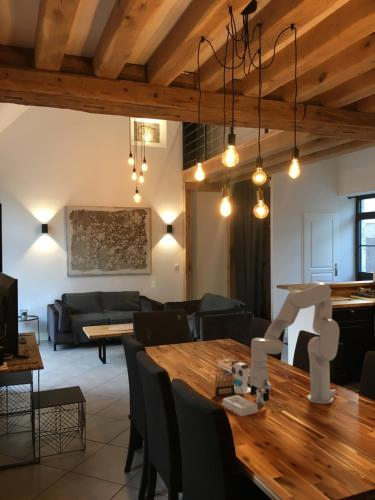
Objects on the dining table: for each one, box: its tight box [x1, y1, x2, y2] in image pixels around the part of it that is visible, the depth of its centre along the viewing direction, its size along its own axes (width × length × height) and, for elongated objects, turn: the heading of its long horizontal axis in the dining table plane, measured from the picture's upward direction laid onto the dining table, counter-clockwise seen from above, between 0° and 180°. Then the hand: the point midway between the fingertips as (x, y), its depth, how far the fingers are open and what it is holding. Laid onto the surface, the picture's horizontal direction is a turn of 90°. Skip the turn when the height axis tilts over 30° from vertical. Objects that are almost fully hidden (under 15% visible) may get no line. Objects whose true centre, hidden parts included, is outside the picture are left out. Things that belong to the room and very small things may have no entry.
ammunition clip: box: [214, 371, 236, 397], centre depth 228 cm, size 11×2×12 cm, turn 104°
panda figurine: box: [230, 360, 251, 395], centre depth 236 cm, size 12×11×15 cm
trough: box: [221, 394, 259, 417], centre depth 208 cm, size 10×16×4 cm, turn 30°
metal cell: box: [255, 388, 266, 407], centre depth 213 cm, size 4×4×8 cm
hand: (259, 397), depth 213 cm, fingers open, 9 cm apart
